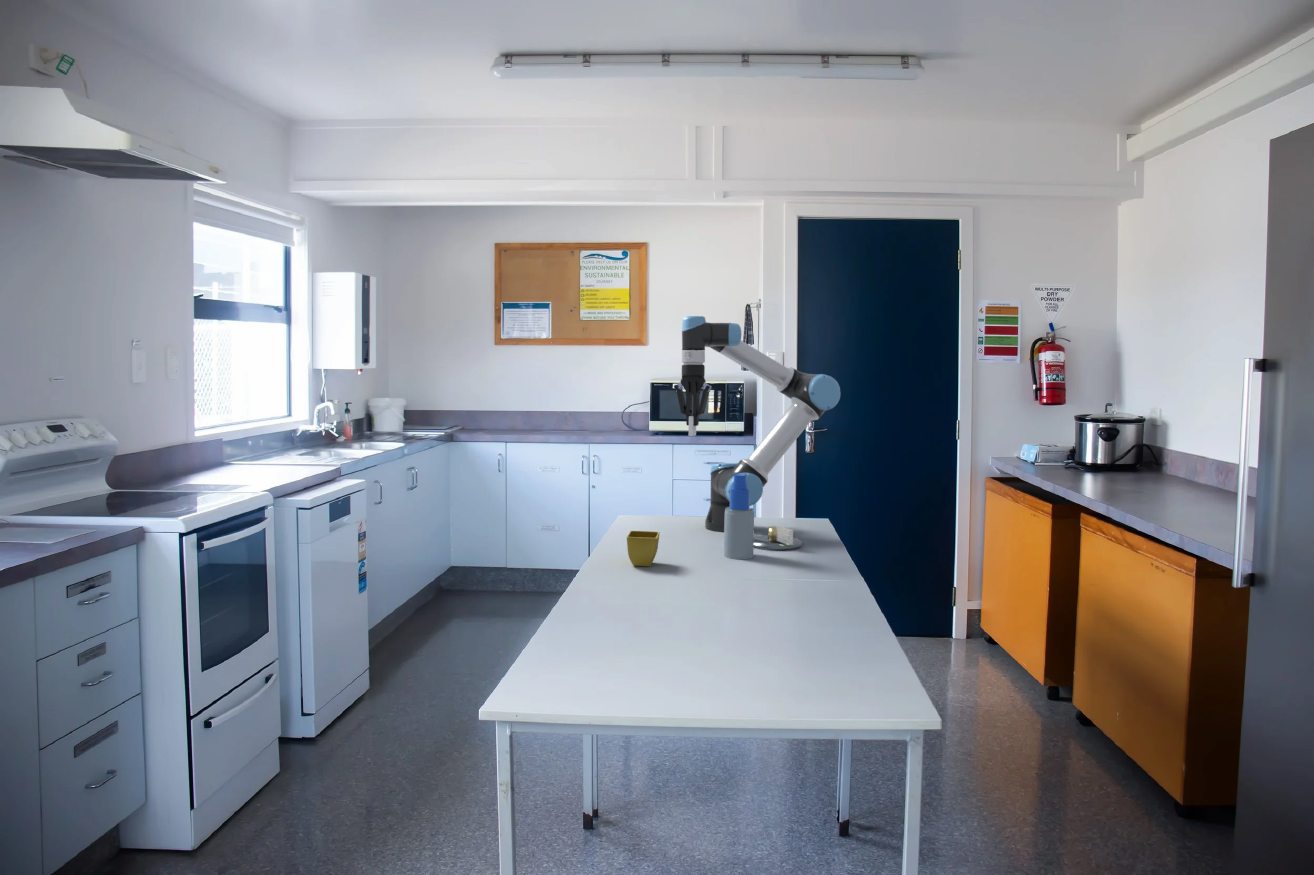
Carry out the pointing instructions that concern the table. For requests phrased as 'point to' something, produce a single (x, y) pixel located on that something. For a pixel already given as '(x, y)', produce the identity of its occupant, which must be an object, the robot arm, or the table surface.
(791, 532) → the needle dial
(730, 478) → the robot arm
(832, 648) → the table surface
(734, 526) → the spray bottle
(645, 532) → the gold square bowl
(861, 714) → the table surface
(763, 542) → the gauge plate
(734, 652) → the table surface
